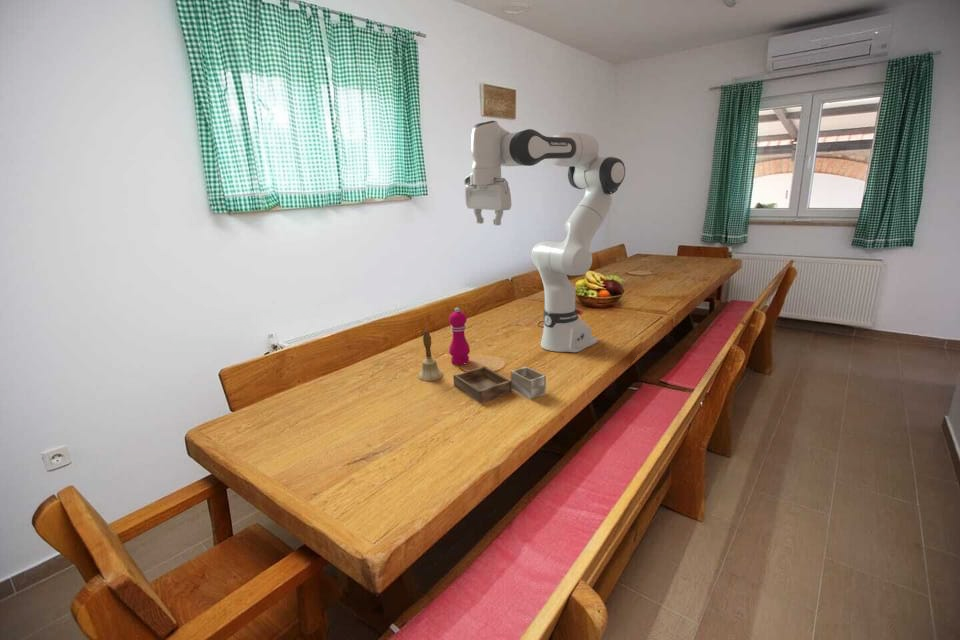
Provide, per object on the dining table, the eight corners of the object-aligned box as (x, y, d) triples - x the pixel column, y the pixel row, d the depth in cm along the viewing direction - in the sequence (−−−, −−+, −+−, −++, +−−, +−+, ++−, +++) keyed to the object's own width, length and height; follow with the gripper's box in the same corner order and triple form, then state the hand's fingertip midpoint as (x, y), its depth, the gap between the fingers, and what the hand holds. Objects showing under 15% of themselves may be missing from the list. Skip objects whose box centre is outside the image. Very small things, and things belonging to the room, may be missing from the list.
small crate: (526, 384, 145) (526, 366, 144) (545, 394, 138) (545, 375, 136) (511, 389, 142) (510, 371, 141) (530, 400, 135) (529, 381, 133)
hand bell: (439, 381, 150) (435, 334, 145) (414, 380, 151) (410, 334, 146) (445, 371, 157) (442, 326, 153) (422, 370, 159) (418, 326, 154)
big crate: (484, 376, 152) (484, 366, 151) (511, 391, 140) (511, 381, 139) (454, 385, 146) (453, 375, 145) (479, 403, 134) (479, 391, 133)
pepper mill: (467, 366, 161) (465, 310, 155) (447, 365, 162) (444, 310, 156) (472, 358, 167) (469, 305, 161) (452, 357, 169) (449, 304, 163)
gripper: (516, 177, 135) (516, 225, 139) (477, 178, 152) (479, 221, 156) (498, 178, 132) (499, 227, 136) (461, 179, 149) (463, 223, 153)
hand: (488, 224), depth 146 cm, fingers open, 8 cm apart
